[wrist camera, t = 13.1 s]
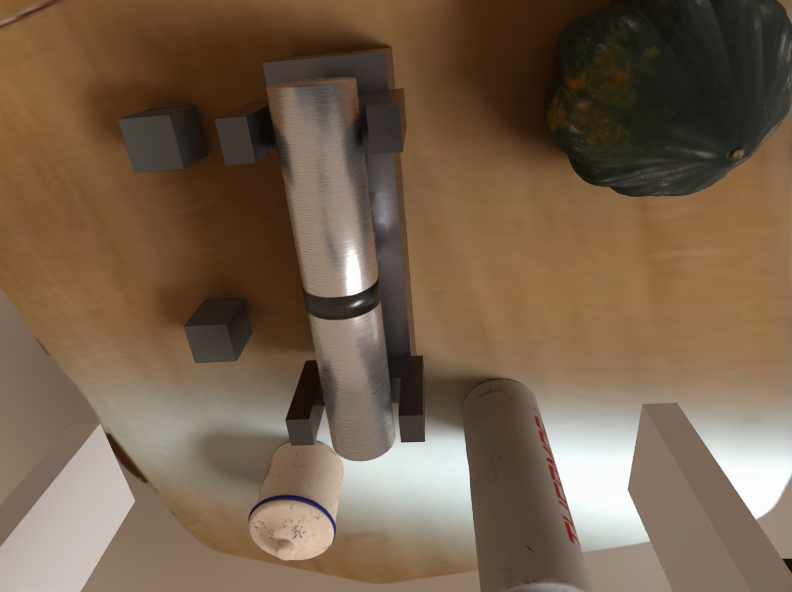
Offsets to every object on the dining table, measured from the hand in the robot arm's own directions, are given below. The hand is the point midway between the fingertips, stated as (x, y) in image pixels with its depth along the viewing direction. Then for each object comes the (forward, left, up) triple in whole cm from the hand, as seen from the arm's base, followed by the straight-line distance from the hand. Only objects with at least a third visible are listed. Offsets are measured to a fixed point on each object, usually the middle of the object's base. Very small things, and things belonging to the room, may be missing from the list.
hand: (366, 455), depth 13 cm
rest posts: (+6, -19, -35) cm, 40 cm away
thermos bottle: (+28, +8, -35) cm, 45 cm away
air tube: (+6, -5, -24) cm, 25 cm away
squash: (-4, +18, -35) cm, 40 cm away
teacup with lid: (+37, -14, -35) cm, 53 cm away
